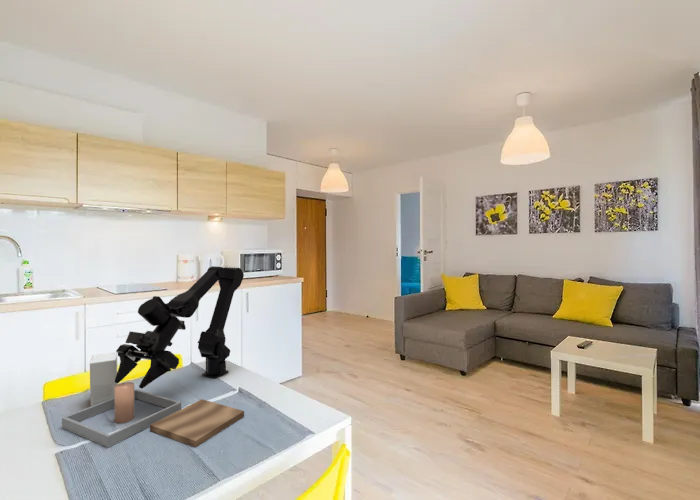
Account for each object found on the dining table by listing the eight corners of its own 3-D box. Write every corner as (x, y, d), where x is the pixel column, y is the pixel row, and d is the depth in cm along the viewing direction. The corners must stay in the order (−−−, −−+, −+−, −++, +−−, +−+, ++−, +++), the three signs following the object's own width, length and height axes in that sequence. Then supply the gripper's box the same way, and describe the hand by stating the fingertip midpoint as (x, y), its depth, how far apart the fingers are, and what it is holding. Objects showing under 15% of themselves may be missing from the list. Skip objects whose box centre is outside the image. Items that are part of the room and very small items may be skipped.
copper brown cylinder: (110, 420, 93) (110, 386, 93) (127, 413, 97) (127, 381, 97) (121, 424, 91) (121, 390, 91) (137, 417, 95) (137, 384, 95)
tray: (62, 427, 89) (61, 417, 89) (136, 397, 107) (136, 389, 107) (108, 447, 81) (108, 436, 81) (181, 411, 98) (181, 402, 98)
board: (149, 430, 88) (149, 424, 88) (201, 404, 103) (201, 399, 103) (195, 447, 81) (195, 440, 81) (244, 416, 96) (244, 411, 96)
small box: (92, 398, 106) (92, 355, 106) (118, 393, 110) (117, 351, 109) (89, 409, 99) (89, 363, 99) (116, 403, 103) (116, 359, 102)
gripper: (122, 316, 103) (82, 366, 92) (170, 322, 96) (133, 376, 86) (146, 336, 110) (111, 385, 100) (192, 343, 104) (160, 395, 93)
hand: (127, 385), depth 95 cm, fingers open, 9 cm apart
